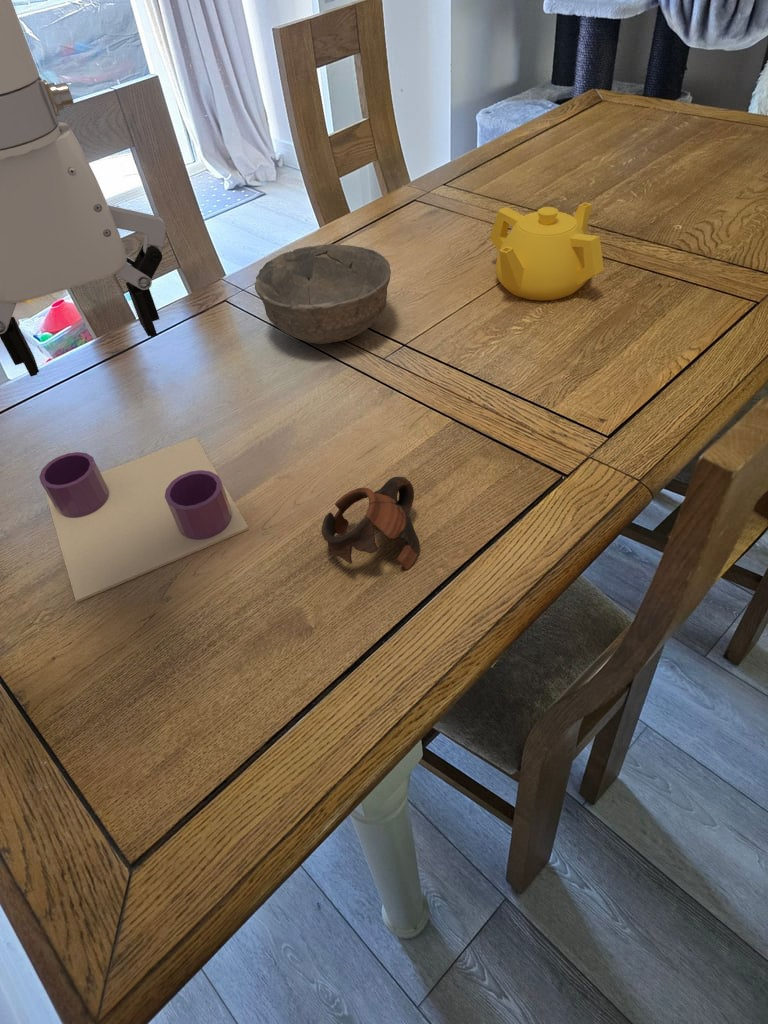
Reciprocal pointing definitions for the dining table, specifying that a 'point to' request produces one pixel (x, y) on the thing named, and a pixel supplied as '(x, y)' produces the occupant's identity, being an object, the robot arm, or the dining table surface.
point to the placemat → (134, 523)
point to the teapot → (545, 252)
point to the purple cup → (74, 484)
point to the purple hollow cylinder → (198, 504)
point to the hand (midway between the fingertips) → (92, 348)
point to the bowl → (324, 291)
